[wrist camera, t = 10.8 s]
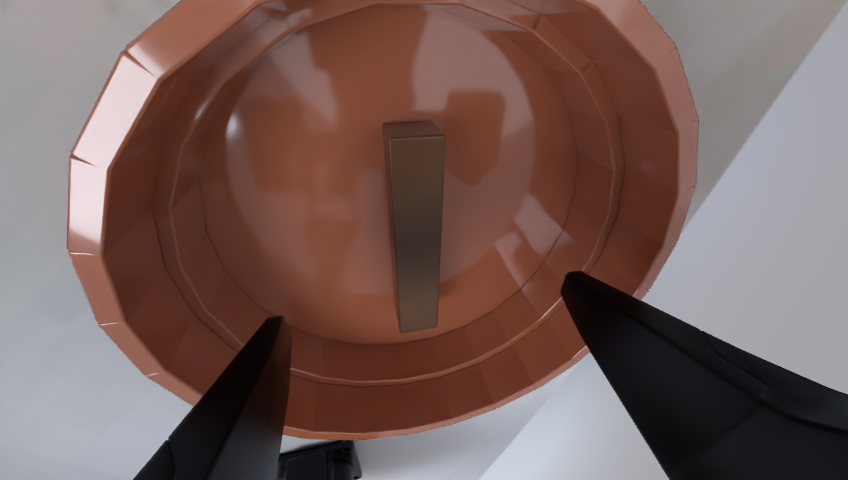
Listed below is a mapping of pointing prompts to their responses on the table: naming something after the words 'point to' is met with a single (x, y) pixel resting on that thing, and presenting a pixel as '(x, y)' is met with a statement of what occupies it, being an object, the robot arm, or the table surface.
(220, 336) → the bowl
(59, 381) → the table surface
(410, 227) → the brown long rectangular block
